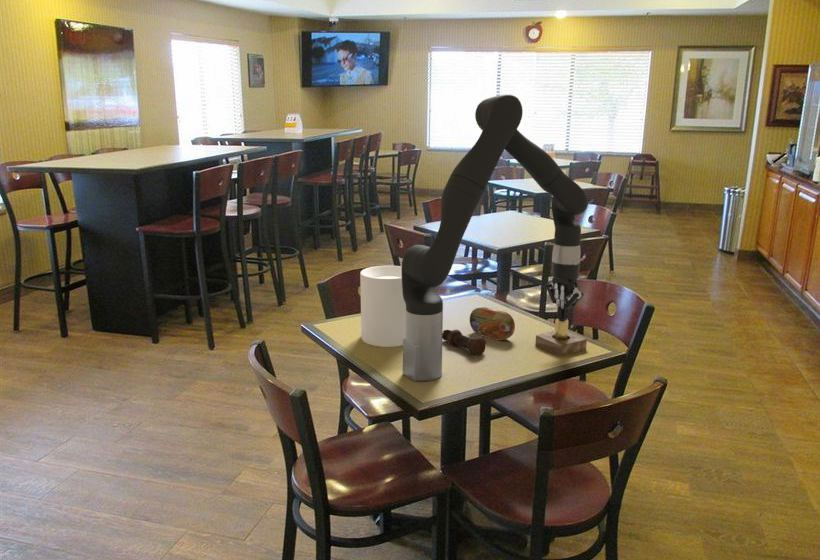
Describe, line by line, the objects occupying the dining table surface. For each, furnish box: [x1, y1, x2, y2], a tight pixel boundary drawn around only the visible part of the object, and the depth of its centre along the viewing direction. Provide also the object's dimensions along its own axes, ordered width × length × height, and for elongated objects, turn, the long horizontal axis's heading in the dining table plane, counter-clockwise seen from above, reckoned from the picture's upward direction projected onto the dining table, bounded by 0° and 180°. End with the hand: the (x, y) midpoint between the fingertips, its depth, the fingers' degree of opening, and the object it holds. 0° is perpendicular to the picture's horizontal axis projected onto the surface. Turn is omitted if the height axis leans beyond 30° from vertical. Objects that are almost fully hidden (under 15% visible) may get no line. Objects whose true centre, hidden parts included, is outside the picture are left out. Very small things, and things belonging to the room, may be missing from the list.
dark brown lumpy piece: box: [442, 329, 487, 357], centre depth 186 cm, size 6×5×15 cm
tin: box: [469, 306, 516, 341], centre depth 195 cm, size 15×3×8 cm, turn 47°
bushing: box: [554, 318, 569, 340], centre depth 187 cm, size 4×4×8 cm
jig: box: [535, 330, 588, 357], centre depth 187 cm, size 10×10×3 cm
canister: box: [359, 265, 406, 348], centre depth 193 cm, size 16×16×20 cm
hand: (562, 319), depth 186 cm, fingers closed
